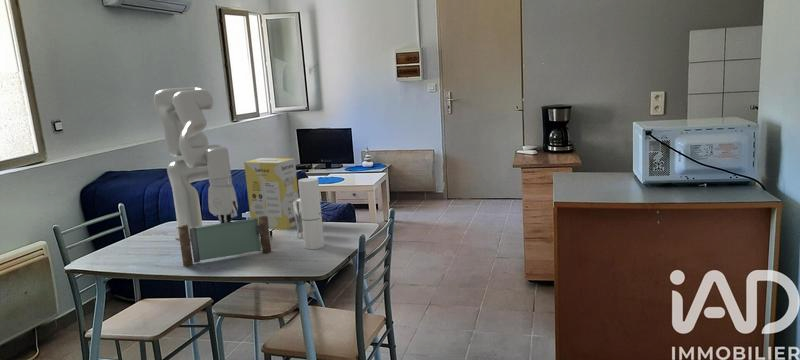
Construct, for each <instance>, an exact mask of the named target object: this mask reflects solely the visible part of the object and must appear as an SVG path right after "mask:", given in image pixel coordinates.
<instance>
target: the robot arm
mask: <svg viewBox="0 0 800 360" xmlns="http://www.w3.org/2000/svg"><path fill="white" fill-rule="evenodd" d="M153 104H154V105H153V106H154V109H155V111H156V114H157V116H158V118H159V120H160V121H161V123H162V129H163V134H164V140H165V145H166V148H167V152H168V154H169V156H171V157H175V158H177V157H178V158H179V157H182V159H179V160H175V161H172V162H170V163H169V164H168V166H167V168H166V172H167V176H168V180H169V182H170V186H171V191H172V196H173V204H174V208H175V209H174V211H175V218H176V223H177V225H176V226H175V229H177V230H178V226H180V225H188V231H189V238H190V240H191V237H190V229H189V228H190V227H198V226H203V219H202V212H201V205H200V196H199V192H198V190H197V189H196V188H195V187H194V186H193V185H192V184H191V183H194V182H200V181H204V180H208V182H209V186H208V192H207V197H208V198H207V200H208V201H207V203H208V211H209V213H210V214H212V215H213V216H215V217H217V218H218V221H219V223H226V222H233V218H236V217H238V213H237V212H238V210H239V205H238V204H239V203H238V198H237V193H236V190H235V187H234V185H233V178H232V171H231V163H230V153H229V150H228V147H225V146H222V145H220V144H209V140H208V138H207V135H206V133H205V132H203V131H204V130H205V129H206V127H207V125H208V121H207V119H206V117H205V114H204V113H203V112H210V111H211V110H212V109H213V107H214V99H213V95H212V93H210V92H209V90H208V89H205V88H202V87H196V86H190V87H174V88H173V87H172V88H164V89H160V90H157V91H156V92H155V93H154V95H153ZM174 238H175V239H176V240H179V241H180V239H179V232H177V233H175V235H174Z"/></svg>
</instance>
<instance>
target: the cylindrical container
mask: <svg viewBox="0 0 800 360" xmlns="http://www.w3.org/2000/svg"><path fill="white" fill-rule="evenodd" d="M319 183H320V182H319V178H317V177H305V178H299V179H297V185H298V195H299V198H300V204H301V215H302V225H303V235H304V239H303V243H304V248H305V249H306V250H318V249H321V248H324V246H325V238H324V227H323V217H322V207H321V206H322V205H321V196H320V185H319Z"/></svg>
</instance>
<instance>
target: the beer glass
mask: <svg viewBox="0 0 800 360" xmlns="http://www.w3.org/2000/svg"><path fill="white" fill-rule="evenodd" d="M293 211H294V217H295V220H296V224H297V225H296V228H297V231H296V232H297V235H296V237H297V239H301V240H304V235H303V225H302V215H301V204H300V197H299V198H296V199H294V200H293Z"/></svg>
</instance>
